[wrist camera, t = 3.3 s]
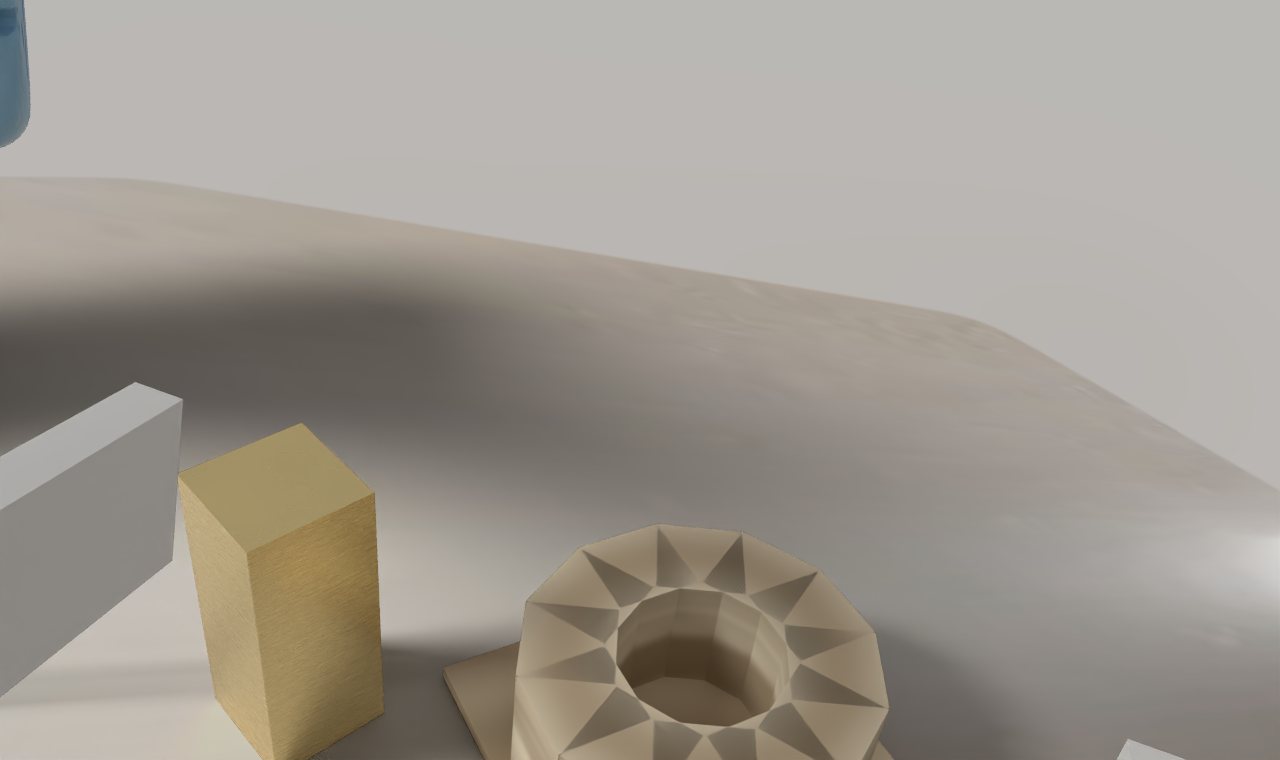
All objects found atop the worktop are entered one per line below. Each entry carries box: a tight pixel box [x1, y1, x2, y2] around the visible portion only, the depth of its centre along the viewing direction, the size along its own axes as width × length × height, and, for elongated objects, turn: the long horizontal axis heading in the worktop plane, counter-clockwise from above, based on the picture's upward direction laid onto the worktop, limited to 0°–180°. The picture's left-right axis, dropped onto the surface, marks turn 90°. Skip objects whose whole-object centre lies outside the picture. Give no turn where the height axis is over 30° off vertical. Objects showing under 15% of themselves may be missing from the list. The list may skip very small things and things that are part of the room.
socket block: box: [443, 524, 894, 760], centre depth 38 cm, size 12×12×5 cm
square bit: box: [178, 423, 384, 760], centre depth 36 cm, size 4×4×10 cm
